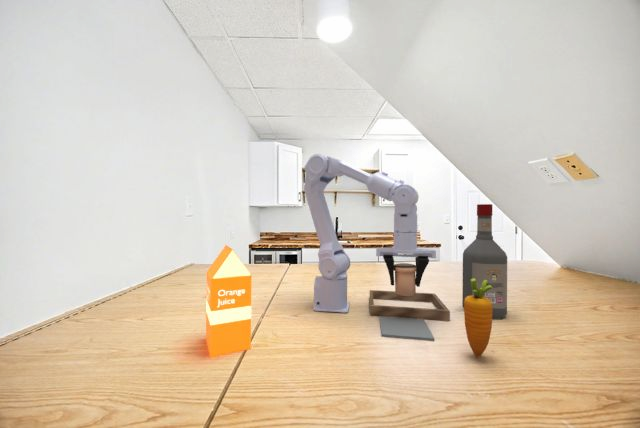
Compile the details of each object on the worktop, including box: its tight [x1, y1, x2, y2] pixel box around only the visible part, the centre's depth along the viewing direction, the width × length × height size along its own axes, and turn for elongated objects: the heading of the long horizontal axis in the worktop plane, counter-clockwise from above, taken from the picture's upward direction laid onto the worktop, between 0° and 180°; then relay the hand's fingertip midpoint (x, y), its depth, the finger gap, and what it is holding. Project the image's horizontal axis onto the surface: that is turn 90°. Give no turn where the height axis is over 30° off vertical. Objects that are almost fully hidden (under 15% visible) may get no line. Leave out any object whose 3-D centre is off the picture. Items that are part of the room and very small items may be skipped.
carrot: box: [463, 278, 493, 358], centre depth 52 cm, size 5×5×15 cm
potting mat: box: [379, 316, 435, 342], centre depth 65 cm, size 11×11×1 cm
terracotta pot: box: [394, 262, 417, 296], centre depth 71 cm, size 6×6×7 cm
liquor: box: [461, 203, 508, 320], centre depth 76 cm, size 9×9×30 cm
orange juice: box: [205, 244, 252, 358], centre depth 57 cm, size 8×9×20 cm
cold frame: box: [369, 289, 451, 322], centre depth 79 cm, size 20×16×2 cm
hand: (404, 285), depth 70 cm, fingers closed on terracotta pot, 6 cm apart
